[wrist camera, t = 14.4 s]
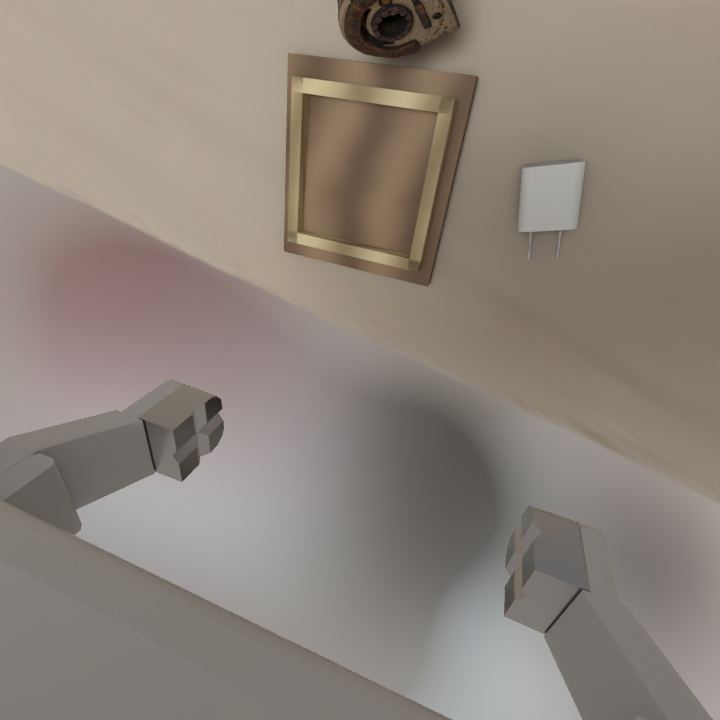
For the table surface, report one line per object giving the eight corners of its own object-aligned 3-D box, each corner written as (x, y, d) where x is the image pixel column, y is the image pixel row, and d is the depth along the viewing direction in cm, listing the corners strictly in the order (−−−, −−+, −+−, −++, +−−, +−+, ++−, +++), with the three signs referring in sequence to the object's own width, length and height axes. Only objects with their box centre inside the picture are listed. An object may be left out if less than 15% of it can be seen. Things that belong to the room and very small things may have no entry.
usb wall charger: (580, 158, 29) (587, 161, 26) (567, 252, 32) (573, 265, 29) (521, 164, 30) (522, 168, 27) (515, 253, 33) (515, 266, 30)
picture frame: (478, 77, 29) (475, 74, 27) (429, 283, 37) (425, 290, 35) (294, 55, 32) (280, 50, 30) (288, 248, 40) (278, 254, 39)
